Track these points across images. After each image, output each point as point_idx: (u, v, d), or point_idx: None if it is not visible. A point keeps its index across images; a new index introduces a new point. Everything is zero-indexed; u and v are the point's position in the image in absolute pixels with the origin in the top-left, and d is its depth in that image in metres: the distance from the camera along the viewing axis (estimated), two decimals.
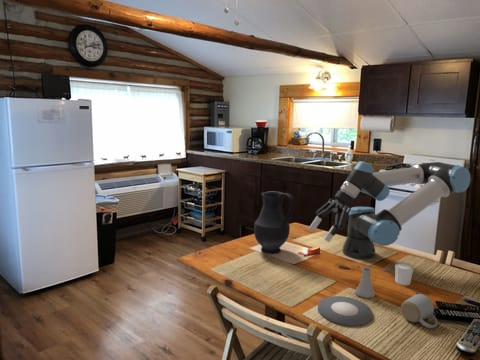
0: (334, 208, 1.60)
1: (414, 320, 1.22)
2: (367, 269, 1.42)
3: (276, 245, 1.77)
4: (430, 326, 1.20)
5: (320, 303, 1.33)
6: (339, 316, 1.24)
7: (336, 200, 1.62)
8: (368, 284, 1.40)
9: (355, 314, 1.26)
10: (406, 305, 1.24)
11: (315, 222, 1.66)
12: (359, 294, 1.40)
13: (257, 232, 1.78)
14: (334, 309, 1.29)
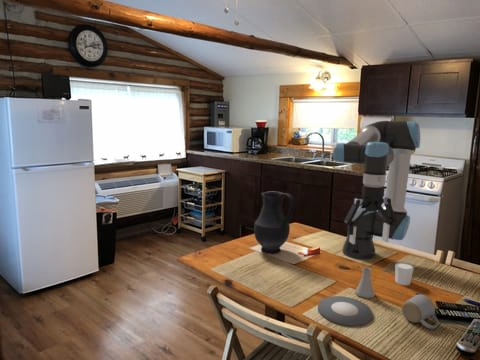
0: (373, 207, 1.35)
1: (415, 321, 1.22)
2: (367, 269, 1.42)
3: (276, 245, 1.77)
4: (431, 327, 1.19)
5: (320, 303, 1.33)
6: (339, 316, 1.24)
7: (369, 198, 1.34)
8: (368, 284, 1.40)
9: (355, 314, 1.26)
10: (407, 305, 1.23)
11: None
12: (359, 294, 1.40)
13: (257, 232, 1.78)
14: (334, 309, 1.29)
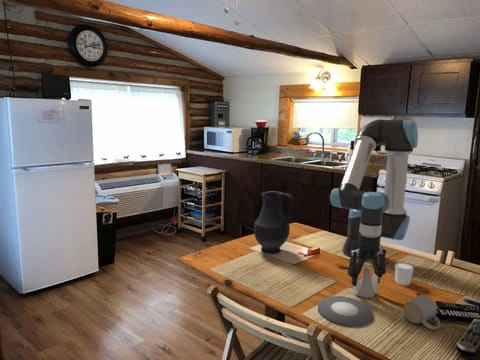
0: (370, 256, 1.38)
1: (417, 321, 1.21)
2: (367, 269, 1.42)
3: (276, 245, 1.77)
4: (433, 327, 1.19)
5: (320, 303, 1.33)
6: (339, 316, 1.24)
7: (364, 247, 1.37)
8: (368, 284, 1.40)
9: (355, 314, 1.26)
10: (409, 306, 1.23)
11: None
12: (359, 294, 1.40)
13: (257, 232, 1.78)
14: (334, 309, 1.29)
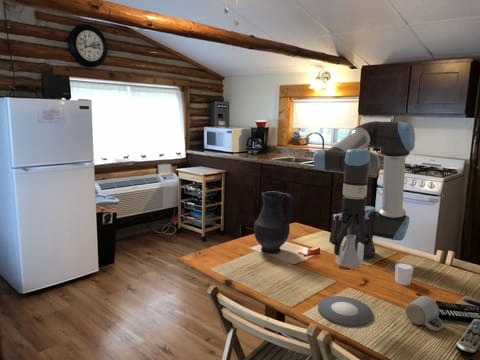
0: (354, 221, 1.23)
1: (419, 323, 1.21)
2: (352, 236, 1.26)
3: (276, 245, 1.77)
4: (435, 329, 1.18)
5: (320, 303, 1.33)
6: (339, 316, 1.24)
7: (348, 210, 1.22)
8: (353, 252, 1.24)
9: (355, 314, 1.26)
10: (411, 307, 1.22)
11: None
12: (342, 264, 1.25)
13: (257, 232, 1.78)
14: (334, 309, 1.29)
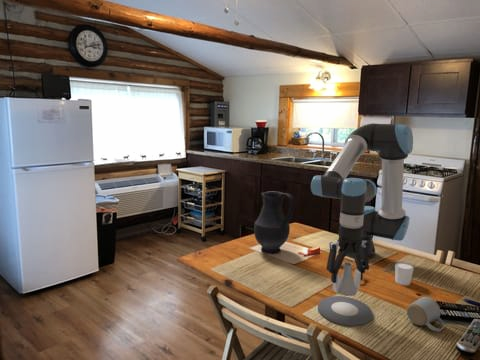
0: (351, 249, 1.24)
1: (420, 323, 1.20)
2: (348, 264, 1.27)
3: (276, 245, 1.77)
4: (437, 329, 1.18)
5: (320, 303, 1.33)
6: (339, 316, 1.24)
7: (345, 239, 1.23)
8: (349, 280, 1.25)
9: (355, 314, 1.26)
10: (413, 308, 1.22)
11: None
12: (339, 291, 1.26)
13: (257, 232, 1.78)
14: (334, 309, 1.29)
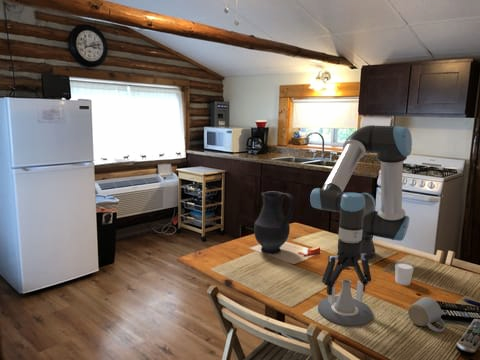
0: (350, 263, 1.25)
1: (421, 324, 1.20)
2: (347, 281, 1.29)
3: (276, 245, 1.77)
4: (438, 330, 1.18)
5: (320, 303, 1.33)
6: (339, 316, 1.24)
7: (344, 253, 1.24)
8: (348, 298, 1.27)
9: (355, 314, 1.26)
10: (414, 308, 1.21)
11: None
12: (338, 309, 1.27)
13: (257, 232, 1.78)
14: (334, 309, 1.29)
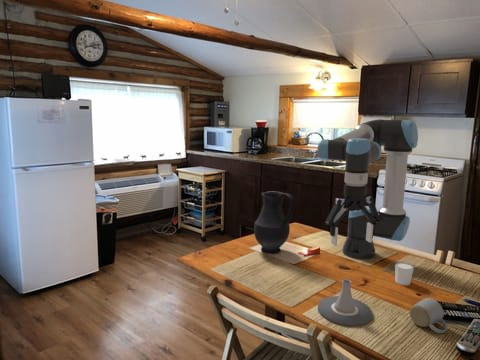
0: (356, 207, 1.29)
1: (423, 325, 1.19)
2: (347, 281, 1.29)
3: (276, 245, 1.77)
4: (440, 331, 1.17)
5: (320, 303, 1.33)
6: (339, 316, 1.24)
7: (351, 198, 1.28)
8: (348, 298, 1.27)
9: (355, 314, 1.26)
10: (416, 309, 1.21)
11: None
12: (338, 309, 1.27)
13: (257, 232, 1.78)
14: (334, 309, 1.29)
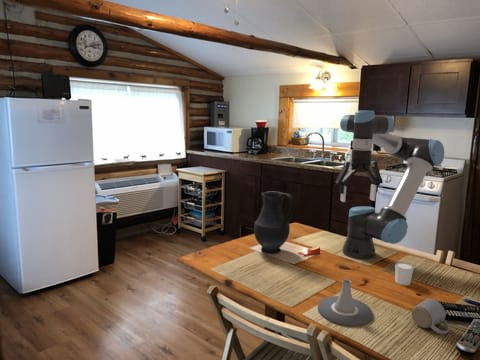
0: (362, 169, 1.51)
1: (425, 326, 1.19)
2: (347, 281, 1.29)
3: (276, 245, 1.77)
4: (442, 332, 1.17)
5: (320, 303, 1.33)
6: (339, 316, 1.24)
7: (357, 161, 1.50)
8: (348, 298, 1.27)
9: (355, 314, 1.26)
10: (417, 310, 1.20)
11: None
12: (338, 309, 1.27)
13: (257, 232, 1.78)
14: (334, 309, 1.29)
